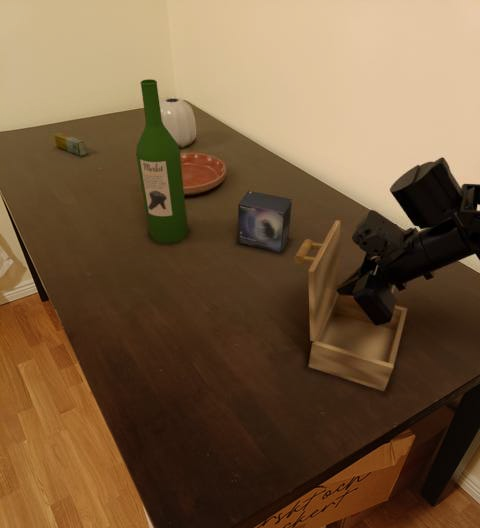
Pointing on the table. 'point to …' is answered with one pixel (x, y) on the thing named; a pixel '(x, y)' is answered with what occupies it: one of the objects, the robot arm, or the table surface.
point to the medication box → (70, 144)
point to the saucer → (201, 172)
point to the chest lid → (321, 276)
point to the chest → (357, 344)
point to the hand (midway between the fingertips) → (338, 291)
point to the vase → (178, 120)
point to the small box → (264, 221)
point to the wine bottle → (160, 173)
